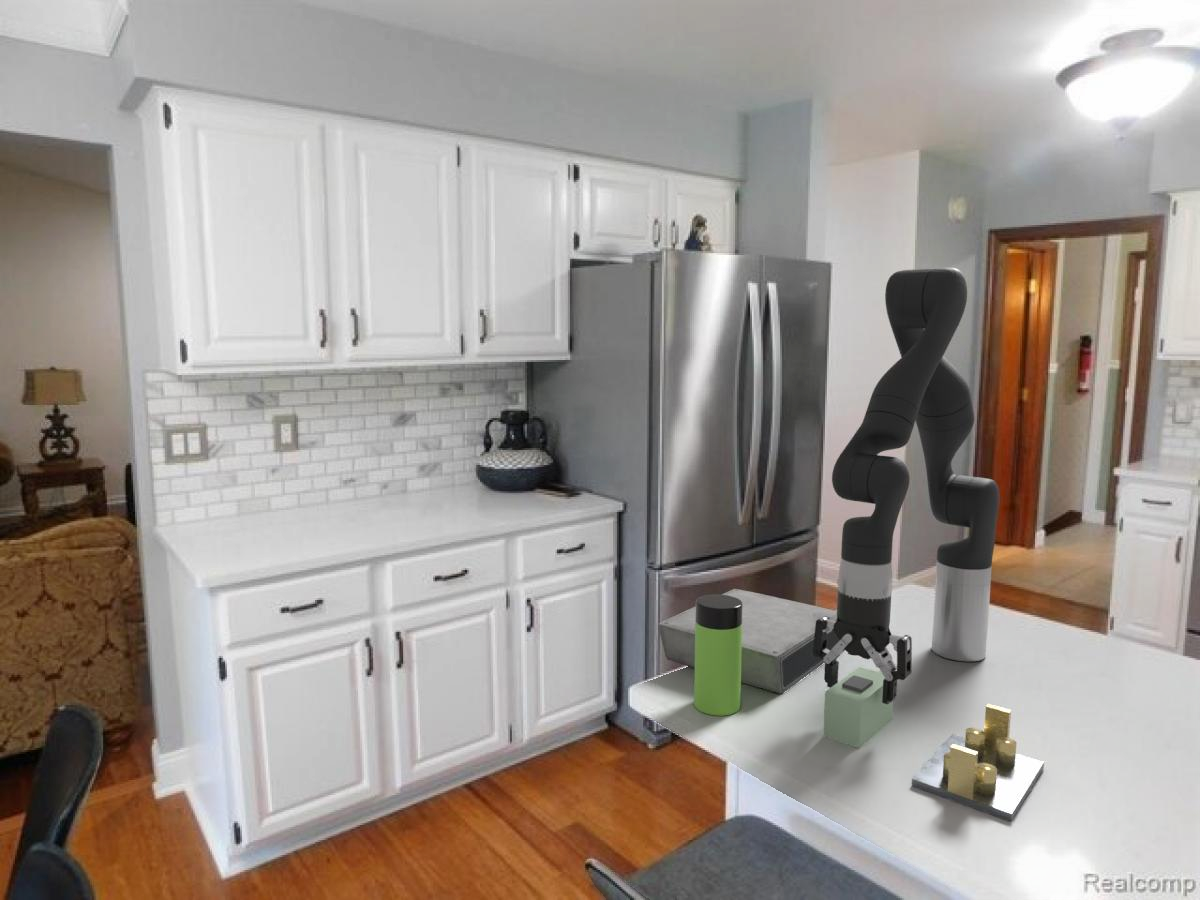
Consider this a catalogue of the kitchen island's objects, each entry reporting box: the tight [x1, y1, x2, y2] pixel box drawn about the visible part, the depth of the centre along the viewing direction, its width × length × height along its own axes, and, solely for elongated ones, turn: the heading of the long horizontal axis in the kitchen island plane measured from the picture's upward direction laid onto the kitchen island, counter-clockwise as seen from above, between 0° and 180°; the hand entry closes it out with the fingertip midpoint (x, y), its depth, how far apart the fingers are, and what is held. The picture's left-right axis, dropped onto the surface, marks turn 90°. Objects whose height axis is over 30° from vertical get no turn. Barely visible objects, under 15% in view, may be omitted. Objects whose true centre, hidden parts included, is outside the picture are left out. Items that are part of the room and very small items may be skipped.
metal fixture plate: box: [911, 703, 1045, 822], centre depth 107 cm, size 16×12×7 cm
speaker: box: [658, 588, 840, 695], centre depth 149 cm, size 24×8×30 cm
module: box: [822, 666, 894, 749], centre depth 121 cm, size 12×6×8 cm, turn 139°
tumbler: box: [693, 593, 743, 717], centre depth 127 cm, size 8×8×17 cm
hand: (859, 694), depth 120 cm, fingers open, 8 cm apart
